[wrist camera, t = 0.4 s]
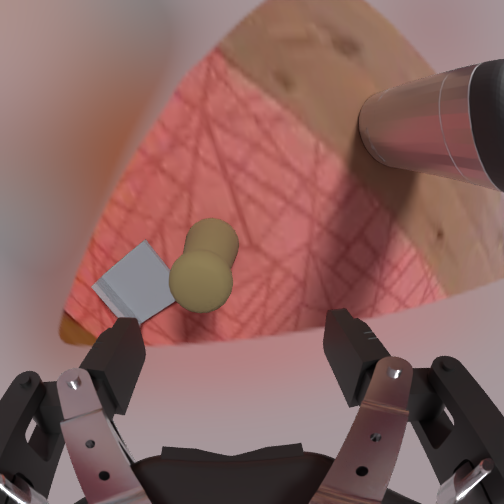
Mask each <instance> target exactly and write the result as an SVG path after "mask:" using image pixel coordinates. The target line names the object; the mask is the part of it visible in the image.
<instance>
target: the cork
mask: <svg viewBox="0 0 504 504" xmlns="http://www.w3.org/2000/svg"><path fill="white" fill-rule="evenodd" d="M238 248H239V241H238V236H237V234H236V232H235V230H234V229H233V228H232V227H231V226H230V225H229V224H228V223H226V222H224V221H222V220H220V219H215V218H208V219H203V220H201V221H199V222H197V223H195V224H194V225H193V226H192V227H191V228H190V230H189V232H188V234H187V236H186V240H185V245H184V251H183V255H181V256H180V257H179V258H178V259H177V260H176V261H175V262H174V264H173V266H172V268H171V270H170V272H169V288H170V292H171V294H172V296H173V297H174V299H175V301H176V302H177V303H179V304H180V305H181V306H182V307H183V308H185V309H187V310H189V311H191V312H196V313H207V312H211V311H214V310H216V309H218V308H220V307H221V306H222V305H223V304H225V302H226V301H227V299H228V297H229V296H230V294H231V291H232V286H233V278H232V272H231V270H230V269H231V267H232V265H233V262H234V260H235V258H236V256H237V253H238Z"/></svg>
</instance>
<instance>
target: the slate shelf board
mask: <svg viewBox="0 0 504 504" xmlns="http://www.w3.org/2000/svg"><path fill="white" fill-rule="evenodd" d="M169 272H170V269H169V268H168V267H167V266H166V265H165V263H164V262H163V261H162V260H161V258H160V257H159V256H158V255H157V253H156V252H155V251H154V250H153V248H152V247H151V246H150V244H149V243H148V242H147V241H146V239H145V240H144V241H143V242H142V243H140V244H139V245H138V246H137V247H135V248H134V249H133V250H132V251H131V252H129V253H128V254H127V255H126V256H125V257H123V258H122V259H121V260H120V261H119V262H118V263H116V264H115V265H114V266H113V267H112V268H111V269H109V270H108V271H107V272H106V273H105V274H104V275H103V276H102V277H103V278H104V279H105V280H106V282H107V283H108V284H109V285H110V286H111V288H112V289H113V290H114V291H115V292H116V294H117V295H118V296H119V297H120V298H121V299H122V300H123V302H124V303H125V304H126V305H127V306H128V307H129V308H130V309H131V311H132V312H133V313H134V314H135V315H136V316H137V317H138V318H139V319H140V320H141V321H142V322H144V321H145V320H147V319H148V318H150V317H151V316H153V315H155V314H156V313H158V312H159V311H161V310H162V309H164V308H165V307H167V306H168V305H170V304H171V303H173V302H175V299H174V297H173V296H172V294H171V292H170V288H169Z"/></svg>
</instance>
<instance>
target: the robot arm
mask: <svg viewBox="0 0 504 504" xmlns="http://www.w3.org/2000/svg"><path fill="white" fill-rule="evenodd" d="M359 131H360V135H361V139H362V141H363V143H364V146H365V147H366V149H367V150H368V152H369V153H370V154H371V155H372V156H373V158H374V159H376V160H377V161H378V162H380V163H381V164H384V165H386V166H389V167H395V168H401V169H406V170H411V171H416V172H422V173H427V174H432V175H436V176H441V177H446V178H450V179H454V180H459V181H463V182H467V183H471V184H475V185H479V186H483V187H486V188H490V189H493V190H497V191H500V192H503V193H504V59H499V60H493V61H488V62H484V63H479V64H475V65H470V66H466V67H461V68H457V69H454V70H450V71H446V72H443V73H439V74H435V75H432V76H428V77H425V78H421V79H418V80H415V81H412V82H409V83H405V84H402V85H399V86H396V87H393V88H390V89H387V90H385V91H382V92H379V93H377V94H375V95H373V96H371V97H370V98H369V99H367V100H366V102H365V103H364V105H363V106H362V109H361V112H360V115H359ZM323 348H324V353H325V355H326V357H327V360H328V362H329V364H330V366H331V368H332V370H333V373H334V375H335V377H336V379H337V381H338V384H339V386H340V388H341V390H342V392H343V395H344V397H345V399H346V401H347V404H348V406H349V407H354V406H358V405H359V406H360V408H359V410H358V413H357V415H356V417H355V420H354V422H353V424H352V426H351V428H350V431H349V433H348V435H347V437H346V439H345V441H344V443H343V445H342V447H341V449H340V451H339V453H338V455H337V457H336V459H334V458H332V457H329V456H326V455H322V454H318V453H313V452H303V448H302V444H301V443H298V444H290V445H282V446H272V447H265V448H262V449H258V450H255V451H251V452H247V453H243V454H240V455H236V456H227V455H222V454H217V453H212V452H207V451H203V450H199V449H192V448H191V449H190V448H176V447H164V446H163V447H162V453H161V455H158V456H153V457H149V458H145V459H143V460H140V461H138V462H136V461H135V459H134V458H133V456H132V455H131V453H130V451H129V449H128V448H127V446H126V444H125V442H124V440H123V438H122V437H121V435H120V433H119V431H118V429H117V427H116V425H115V423H114V421H113V416H114V414H120V415H125V413H126V410H127V407H128V405H129V402H130V399H131V396H132V393H133V390H134V388H135V385H136V382H137V380H138V377H139V374H140V372H141V369H142V366H143V364H144V361H145V356H146V352H145V345H144V342H143V338H142V334H141V331H140V327H139V323H138V320H137V318H133V317H119V318H118V319H117V321H116V322H115V324H114V325H113V327H112V328H108V329H107V330H105V331H104V332H103V333H101V334H100V336H99V337H98V339H97V340H96V343H94V345H93V346H92V349H90V351H89V353H88V354H87V356H86V357H85V359H84V361H83V362H82V363H81V365H80V367H79V368H73V369H69V370H67V371H65V372H63V373H62V374H61V375H60V376H59V378H58V380H57V381H54V382H42V380H41V378H40V376H39V375H38V374H37V373H36V372H33V371H26V372H23V373H21V374H19V375H18V376H17V377H16V378H15V379H14V380H13V382H12V383H11V385H10V386H9V388H8V389H7V391H6V392H5V394H4V395H3V397H2V399H1V400H0V504H49V503H48V501H47V498H48V495H49V491H50V488H51V484H52V481H53V478H54V474H55V471H56V468H57V465H58V462H59V459H60V456H61V453H62V450H63V448H64V445H65V443H66V447H67V450H68V453H69V456H70V459H71V462H72V465H73V468H74V470H75V473H76V476H77V478H78V481H79V483H80V486H81V488H82V490H83V493H84V495H85V497H84V498H82V499H81V500H79V501H78V502H76V503H74V504H421V503H418V502H416V501H414V500H411V499H409V498H407V497H405V496H403V495H401V494H399V493H397V492H395V491H392V490H390V489H388V488H387V486H388V484H389V481H390V478H391V475H392V473H393V470H394V467H395V464H396V461H397V457H398V454H399V451H400V447H401V444H402V440H403V436H404V433H405V429H406V425H407V422H411V424H412V426H413V428H414V430H415V432H416V434H417V436H418V438H419V440H420V442H421V444H422V446H423V448H424V450H425V452H426V454H427V457H428V459H429V461H430V463H431V465H432V467H433V469H434V472H435V474H436V476H437V478H438V480H439V483H440V485H441V486H440V488H439V490H438V493H437V502H436V504H504V417H503V415H502V414H501V412H500V411H499V410H498V408H497V407H496V406H495V404H494V403H493V402H492V401H491V399H490V398H489V397H488V395H487V394H486V393H485V391H484V390H483V389H482V388H481V387H480V385H479V384H478V383H477V382H476V380H475V379H474V378H473V377H472V376H471V374H470V373H469V372H468V371H467V369H466V368H465V367H464V366H463V365H462V364H461V362H460V361H458V360H457V359H455V358H453V357H449V356H440V357H437V358H436V359H435V360H434V361H433V363H432V365H431V368H412V366H411V364H410V363H409V362H408V361H406V360H404V359H402V358H399V357H392V356H391V355H390V354H389V352H388V351H387V350H386V348H385V347H384V346H383V344H382V343H381V342H380V341H379V339H378V338H376V335H375V334H374V333H373V332H372V330H371V329H370V327H369V326H368V325H367V324H366V323H365V322H363V321H361V320H360V319H358V318H355V319H353V317H352V316H351V315H350V313H349V312H348V311H347V309H345V308H343V309H334V310H328V312H327V315H326V323H325V332H324V339H323ZM445 407H447V409H448V410H449V412H450V413H451V415H452V417H453V419H454V425H453V424H452V422H451V421H450V419H449V417H448V416H447V414H446V413H445V411H444V408H445ZM32 418H33V420H34V421H35V422H36V424H37V425H36V427H35V429H34V431H33V434H32V436H31V438H30V440H29V442H28V443H27V441H26V438H25V433H26V430H27V428H28V426H29V424H30V422H31V419H32Z"/></svg>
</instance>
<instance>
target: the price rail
mask: <svg viewBox="0 0 504 504" xmlns="http://www.w3.org/2000/svg"><path fill="white" fill-rule="evenodd" d="M91 287H92V288H93V289H94V291H95V292H96V293H97V294H98V295H99V297H100V298H101V299H102V300H103V301H104V302H105V304H106V305H107V306H108V307H109V308H110V309H111V310H112V312H113V313H114V314H115V315H116V316H117V317H118V318H119V317H133V318H137V320H138V323H139V327H140V326H141V324H142V321H141V320H140V319H139V318H138V317H137V316H136V315H135V314H134V313H133V312H132V311H131V309H130V308H129V307H128V306H127V305H126V304H125V303H124V302H123V300H122V299H121V298H120V297H119V296H118V295H117V294H116V292H115V291H114V290H113V289H112V288H111V286H110V285H109V284H108V283H107V282H106V280H105V279H104V278H103V277H102V276H101V277H100V278H99V279H98V280H97V281H96V282H95V283H94V284H93V285H92V286H91Z"/></svg>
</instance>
